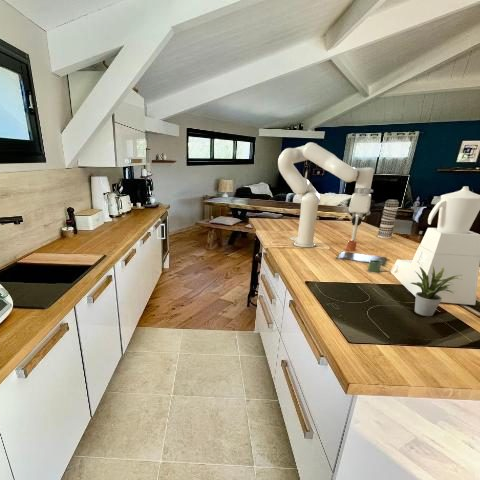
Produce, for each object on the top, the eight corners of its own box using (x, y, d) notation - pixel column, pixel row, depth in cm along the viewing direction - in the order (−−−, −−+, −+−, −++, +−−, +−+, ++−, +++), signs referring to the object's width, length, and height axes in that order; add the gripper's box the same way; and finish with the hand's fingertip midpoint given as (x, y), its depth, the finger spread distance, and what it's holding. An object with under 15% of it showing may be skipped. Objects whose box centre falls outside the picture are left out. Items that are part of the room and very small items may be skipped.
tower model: (391, 238, 212) (400, 201, 202) (376, 237, 216) (384, 200, 207) (392, 236, 219) (401, 199, 210) (377, 235, 223) (385, 198, 214)
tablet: (336, 259, 166) (336, 257, 166) (342, 252, 179) (342, 251, 178) (383, 266, 155) (383, 264, 154) (386, 258, 167) (386, 257, 167)
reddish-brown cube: (345, 250, 184) (347, 241, 182) (347, 248, 188) (348, 240, 186) (354, 251, 182) (356, 242, 180) (355, 249, 185) (357, 241, 183)
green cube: (367, 272, 147) (369, 261, 145) (368, 269, 150) (371, 259, 148) (378, 273, 144) (381, 263, 142) (379, 271, 148) (382, 261, 146)
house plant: (454, 328, 96) (472, 278, 90) (401, 317, 103) (414, 270, 97) (449, 311, 107) (464, 266, 101) (401, 302, 114) (413, 259, 108)
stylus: (350, 241, 182) (355, 215, 177) (351, 240, 184) (356, 214, 178) (354, 241, 181) (359, 215, 176) (355, 240, 183) (360, 214, 177)
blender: (387, 273, 145) (409, 182, 130) (433, 276, 141) (461, 183, 126) (416, 301, 115) (449, 188, 101) (474, 306, 111) (518, 189, 96)
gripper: (379, 191, 171) (372, 225, 178) (347, 190, 179) (342, 222, 186) (377, 192, 165) (370, 227, 172) (345, 191, 174) (339, 224, 180)
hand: (355, 224), depth 179 cm, fingers closed on stylus, 2 cm apart
